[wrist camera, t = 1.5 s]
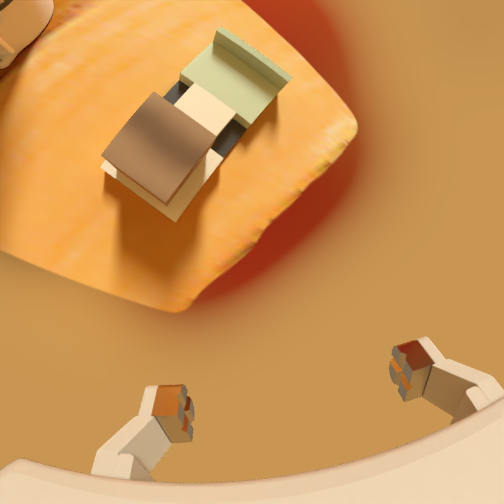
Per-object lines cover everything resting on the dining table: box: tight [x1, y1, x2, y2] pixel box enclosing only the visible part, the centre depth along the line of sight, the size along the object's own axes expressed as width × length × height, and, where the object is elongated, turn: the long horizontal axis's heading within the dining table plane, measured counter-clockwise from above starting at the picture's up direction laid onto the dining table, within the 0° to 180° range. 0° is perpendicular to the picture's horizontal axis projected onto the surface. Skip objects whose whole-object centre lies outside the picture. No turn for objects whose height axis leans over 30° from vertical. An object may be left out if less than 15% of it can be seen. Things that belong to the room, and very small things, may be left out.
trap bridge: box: [100, 27, 292, 223], centre depth 36 cm, size 24×12×6 cm, turn 143°
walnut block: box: [101, 92, 217, 206], centre depth 31 cm, size 8×8×9 cm
